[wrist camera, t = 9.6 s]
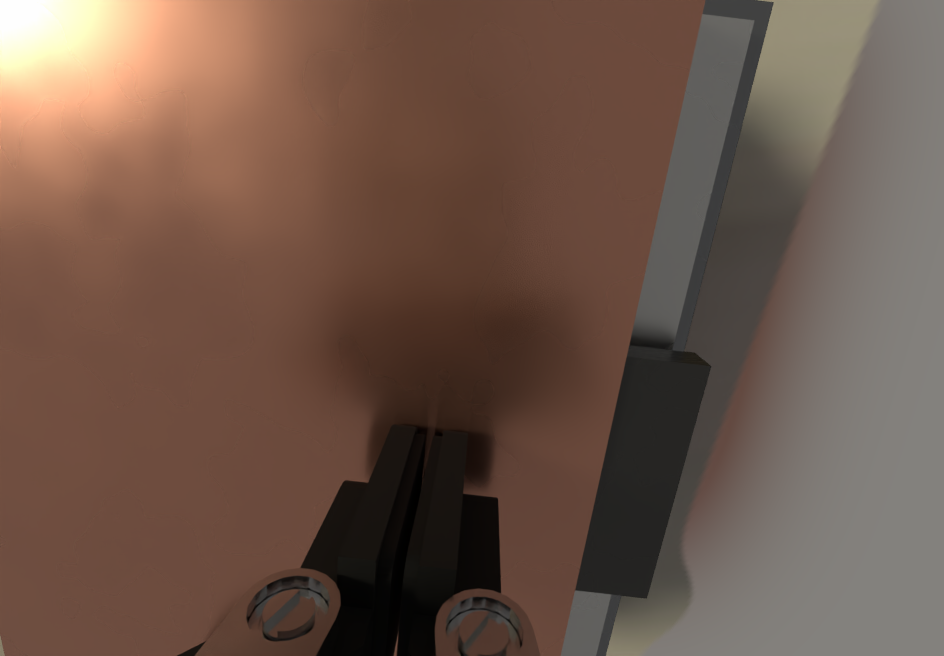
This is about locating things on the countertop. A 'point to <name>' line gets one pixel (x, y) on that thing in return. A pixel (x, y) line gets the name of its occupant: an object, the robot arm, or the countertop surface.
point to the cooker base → (686, 222)
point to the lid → (325, 293)
